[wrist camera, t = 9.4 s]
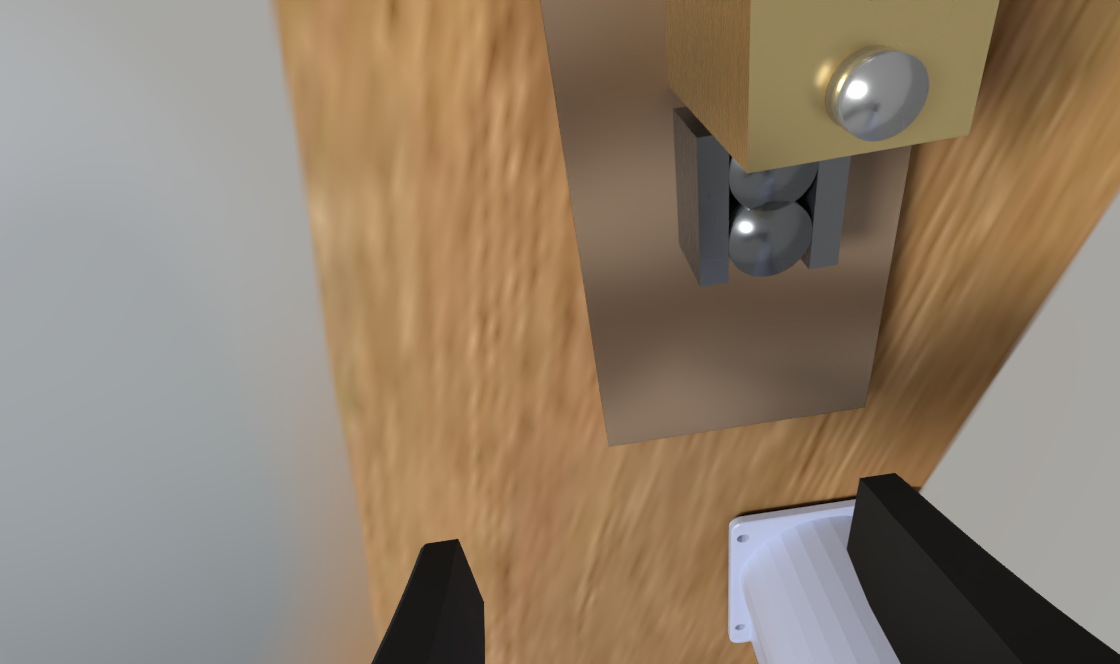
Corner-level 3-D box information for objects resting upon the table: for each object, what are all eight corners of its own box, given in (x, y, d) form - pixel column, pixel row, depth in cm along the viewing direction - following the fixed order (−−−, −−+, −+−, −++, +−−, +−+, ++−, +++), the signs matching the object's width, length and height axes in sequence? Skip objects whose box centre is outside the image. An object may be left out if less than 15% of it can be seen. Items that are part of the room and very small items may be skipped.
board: (852, 388, 22) (865, 407, 21) (605, 427, 22) (608, 446, 21) (1022, -683, 9) (1070, -740, 9) (454, -559, 10) (448, -602, 9)
